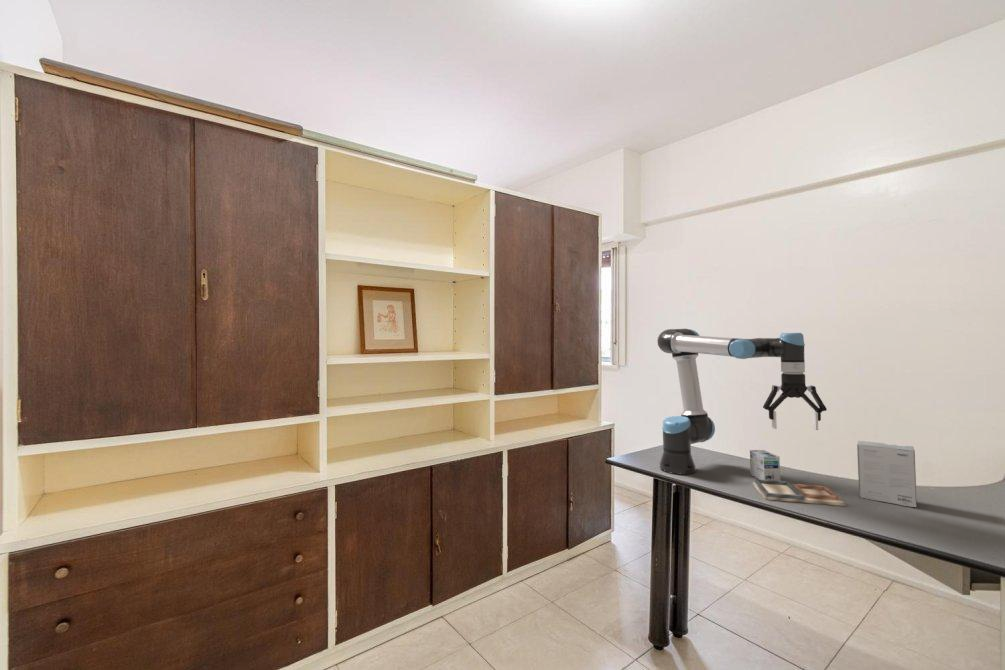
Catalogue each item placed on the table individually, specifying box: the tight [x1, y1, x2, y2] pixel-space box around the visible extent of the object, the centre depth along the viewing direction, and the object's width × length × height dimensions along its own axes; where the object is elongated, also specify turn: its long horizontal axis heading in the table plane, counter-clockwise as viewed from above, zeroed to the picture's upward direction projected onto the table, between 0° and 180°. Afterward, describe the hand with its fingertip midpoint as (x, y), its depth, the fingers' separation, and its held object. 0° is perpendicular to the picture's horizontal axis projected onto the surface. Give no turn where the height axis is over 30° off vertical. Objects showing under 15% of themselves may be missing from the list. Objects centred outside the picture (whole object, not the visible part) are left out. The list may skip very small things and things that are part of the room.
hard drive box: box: [856, 440, 918, 508], centre depth 152 cm, size 16×8×20 cm, turn 47°
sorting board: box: [752, 478, 847, 507], centre depth 159 cm, size 25×16×2 cm, turn 73°
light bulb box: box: [749, 449, 781, 481], centre depth 177 cm, size 11×7×11 cm, turn 179°
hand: (794, 428), depth 159 cm, fingers open, 13 cm apart
